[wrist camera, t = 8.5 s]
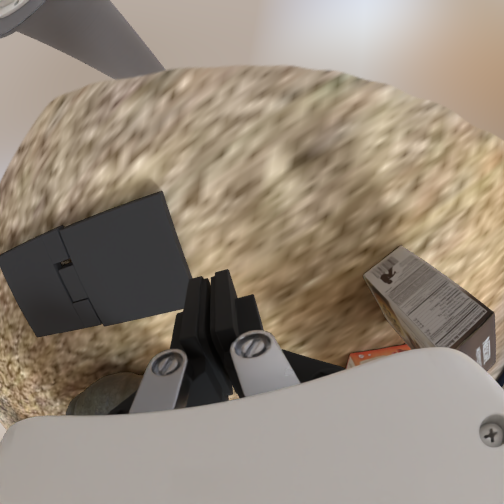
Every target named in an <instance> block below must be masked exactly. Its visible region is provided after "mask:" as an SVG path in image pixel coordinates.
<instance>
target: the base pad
mask: <svg viewBox="0 0 504 504" xmlns="http://www.w3.org/2000/svg"><path fill="white" fill-rule="evenodd" d="M63 228H64V227H63V225H62V226H59V227H57V228H55V229H53V230H50V231H48V232H46V233H44V234H42V235H39V236H37V237H35V238H33V239H31V240H29V241H27V242H25V243H23V244H21V245H19V246H17V247H15V248H13V249H11V250H9V251H7V252H5V253H3V254H1V255H0V268H1V270H2V272H3V274H4V277H5V279H6V281H7V283H8V285H9V287H10V289H11V291H12V293H13V295H14V297H15V299H16V301H17V303H18V305H19V307H20V309H21V311H22V312H23V314H24V316H25V318H26V320H27V321H28V323H29V325H30V326H31V328H32V330H33V331H34V333H35V335H36V336H37V337H42V336H47V335H52V334H58V333H63V332H68V331H73V330H78V329H83V328H88V327H92V326H97V325H101V324H102V322H101V320H100V318H99V316H98V314H97V313H96V311H95V309H94V307H93V305H92V303H91V301H90V299H89V297H88V298H85V299H82V300H78V301H74V302H73V300H72V298H71V296H70V294H69V292H68V290H67V288H66V286H65V284H64V282H63V280H62V278H61V275H60V273H59V271H58V270H59V269H60V268H61V267H62V265H61V263H60V262H61V261H64V260H67V259H69V258H70V256H69V254H68V251H67V249H66V246H65V244H64V241H63V239H62V236H61V234H60V230H62V229H63Z"/></svg>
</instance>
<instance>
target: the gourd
mask: <svg viewBox="0 0 504 504" xmlns="http://www.w3.org/2000/svg"><path fill="white" fill-rule="evenodd" d="M142 378H143V375H137V374H134V373H130V372H123V373H116V374H112V375H108V376H105V377H103V378H101V379H99V380H98V381H96V382H95V383H93V384H92V385H91V386H90V387H88V388H87V389H86V390H85V391H84V392H82V393H80V394H79V395H77V396H76V397H75V398H74V399H73V400H72V401H71V402H70V404H69V406H68V408H67V411H66V415H74V416H90V415H107V414H108V413H109V412H110V411H111V410H112V409H114V408H115V407H116V406H118V405H119V404H120V403H121V402H123V401H124V400H125V399H126V398H128V397H129V396H130V395H131V394H133V393H134V392H135V391H136V390H138V388H139V386H140V383H141V381H142Z"/></svg>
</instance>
